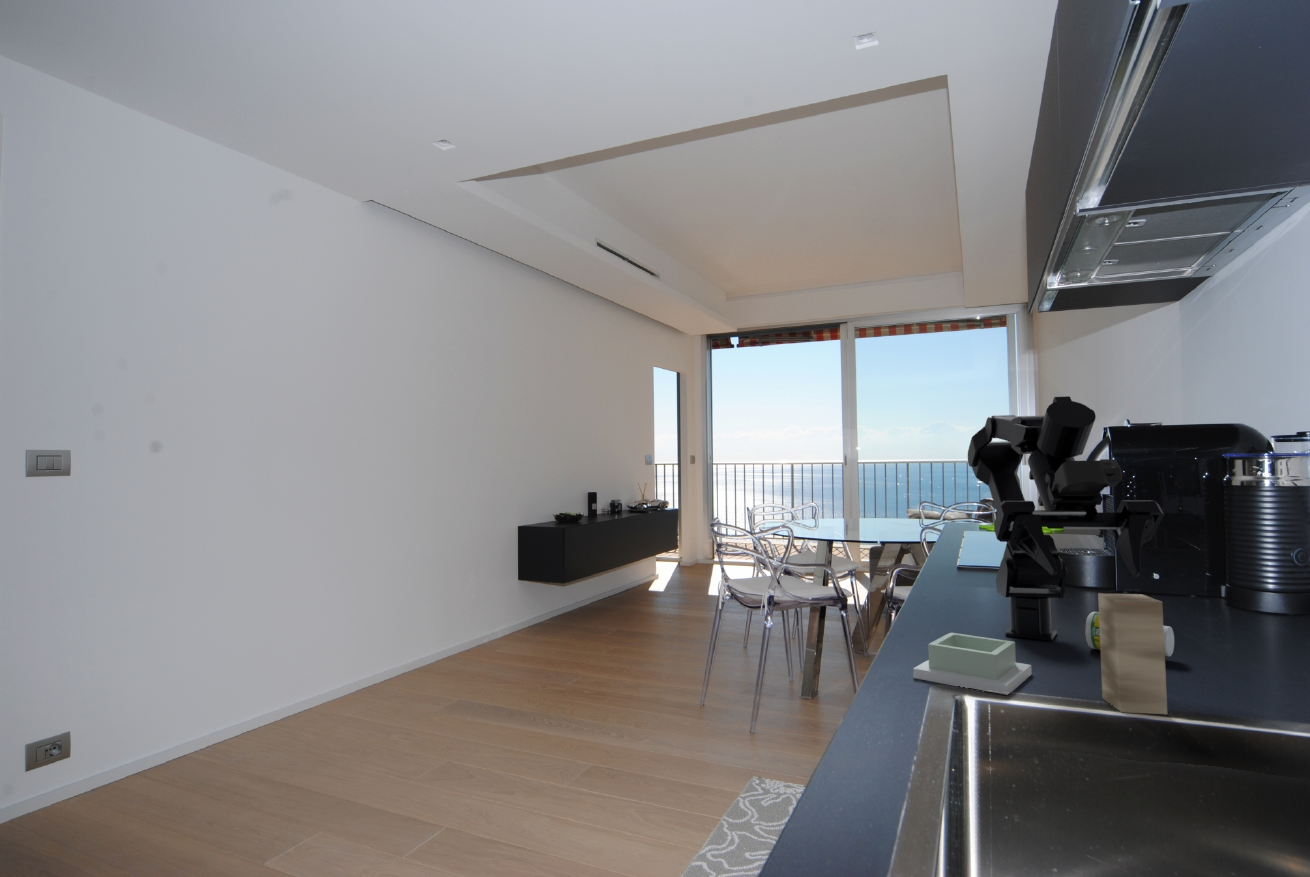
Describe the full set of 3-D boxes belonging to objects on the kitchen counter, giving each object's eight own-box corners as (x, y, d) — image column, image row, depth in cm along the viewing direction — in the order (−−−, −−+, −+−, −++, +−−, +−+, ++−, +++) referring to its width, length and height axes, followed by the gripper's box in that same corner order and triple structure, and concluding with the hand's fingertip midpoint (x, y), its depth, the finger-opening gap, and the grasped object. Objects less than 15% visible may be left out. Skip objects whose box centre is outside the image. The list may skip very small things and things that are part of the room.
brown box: (1102, 698, 79) (1098, 593, 80) (1146, 700, 78) (1141, 594, 79) (1121, 712, 75) (1116, 600, 75) (1167, 714, 74) (1162, 601, 75)
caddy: (944, 659, 96) (943, 629, 96) (1031, 674, 89) (1030, 641, 89) (913, 677, 88) (912, 644, 88) (1006, 696, 80) (1005, 659, 81)
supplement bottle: (1091, 655, 101) (1171, 670, 93) (1081, 632, 99) (1161, 645, 91) (1100, 626, 103) (1178, 638, 96) (1090, 603, 101) (1169, 613, 94)
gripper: (997, 440, 93) (1026, 531, 81) (1153, 437, 89) (1206, 532, 77) (983, 496, 100) (1008, 586, 89) (1127, 496, 96) (1172, 590, 85)
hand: (1095, 573), depth 85 cm, fingers open, 9 cm apart
